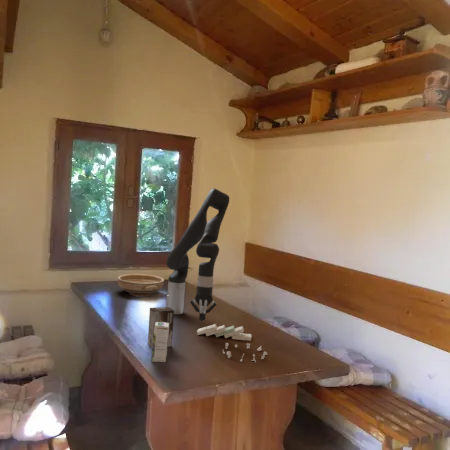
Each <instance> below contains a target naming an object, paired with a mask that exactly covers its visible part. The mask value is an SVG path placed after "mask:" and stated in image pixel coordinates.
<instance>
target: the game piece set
mask: <svg viewBox="0 0 450 450" xmlns="http://www.w3.org/2000/svg"><path fill="white" fill-rule="evenodd" d="M229 345H230V344H229V343H228V342H225V345H224V346H225V348H224V349H222V354H226V356H227V358H228V359H231V357H232V352H231V351H230V350H229V351H226V352H225V351H224V350H227V349H228V347H229ZM250 346H251V343H246V349H248V348H249V349H251V347H250ZM234 348H235V349H237V348H238V344H235V345H234ZM262 350H263V348H262V345H260V346H259V347H258V348H257V349H256V351H258V352H260V351H262ZM265 355H267V356H268V352H267V351H265V350H264V351H263V354H262V355H261V358H260V359H261V360H262V359H263V360H264V359H265V358H266V356H265ZM244 356H245V353H243V354H242V356H241V358H240V360H239V362H240V363H243V357H244ZM252 356H253V359H251V360H250V362H251V361H255V362H254V363H257V360H256V359H255V357H256V354H252Z"/></svg>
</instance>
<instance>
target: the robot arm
mask: <svg viewBox="0 0 450 450" xmlns="http://www.w3.org/2000/svg"><path fill="white" fill-rule="evenodd" d="M229 204H230V196H229V195H228V194H227V193H225V192H224V191H223V192H222V191H221V190H219V189H217V188H212V189H210V190H209V192H208V193H207V195H206V197H205V199H204V200H203V203H202V204H201V206H200V208H199V209H198V212H197V213H196V215H195V217H194V218H193V219H192V221H191V222H190V224H189V225H188V227H187V228H186V230H185V232H184V233H183V234H182V236H181V238H180V239H179V241H178V242H177V244H176V245H175V246H174V248H173V249H172V250H171V252H170V253H169V254H168V256H167V258H166V266H167V268H168V269H170V270H172V271H173V272H172V273H171V274H170V275H168V281H167V282H168V283H167V293H166V300H165V307H170V308H171V309H173V310H174V315H182V314H183V313H184V304H185V290H186V279H187V277H188V272H189V265H190V259H189V256H188V254H187V253H188V252H189V251H190V250H191V249H193V248H194V246H196V249H195V252H196V253H195V254H196V255H197V256H198V257H199V258H205V259H210V260H209V261H206V262H204V261H203V262H200V263H199V264H198V274H197V275H198V276H197V278H196V279H197V281H196V293H195V296H194V298H193V299H191V300H190V304H191V306H192V307H193V309H194V310H195V312H197V313H199V316H198V319H199V320H200V322H204V321H205V320H206V316H207V315H206V314H208V313H210V312H211V311H212V310H213V309H214V308H215V307H216V306H217V303H218V302H216V301H215V300H214V298H213V289H214V272H215V271H214V269H215V263H216V261H217V258H218V256H219V254H220V253H219V252H220V247H219V245H218V244H217V243H216V242H217V241H218V238H219V235H220V234H219V233H220V229H221V226H222V223H223V220H224V217H225V215H226V213H227V209H228V207H229ZM210 207H211V208H213V209H215V210H217V211H218V212H217V214H216V215H215V216H213V217H212V218H210V219H209V220H207V219H208V218H207V216H208V209H209V208H210ZM196 303H197V304H196ZM198 306H199V307H198ZM208 306H210V307H208ZM207 308H208V309H207Z"/></svg>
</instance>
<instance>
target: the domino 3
mask: <svg viewBox="0 0 450 450" xmlns="http://www.w3.org/2000/svg"><path fill="white" fill-rule="evenodd" d="M234 331H235V325H231V326H228V327H225V331H223V332H220V333H216V334H214V336H215V337H216V338H219V337H222V336H224V335H225V334H228V333H231V332H234Z"/></svg>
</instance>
